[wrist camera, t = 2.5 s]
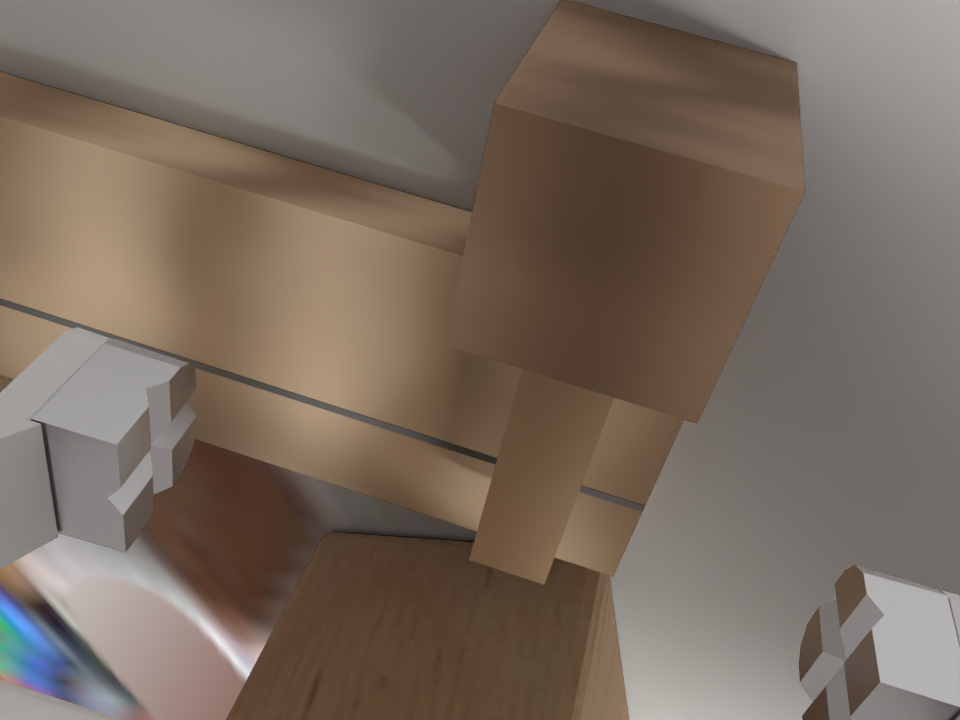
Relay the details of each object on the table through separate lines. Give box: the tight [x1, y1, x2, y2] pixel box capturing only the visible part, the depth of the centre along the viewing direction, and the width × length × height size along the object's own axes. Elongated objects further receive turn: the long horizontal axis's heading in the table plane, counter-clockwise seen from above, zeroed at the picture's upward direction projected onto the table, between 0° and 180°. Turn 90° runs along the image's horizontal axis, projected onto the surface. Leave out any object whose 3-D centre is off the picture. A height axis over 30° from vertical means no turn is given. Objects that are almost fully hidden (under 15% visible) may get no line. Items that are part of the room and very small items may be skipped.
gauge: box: [445, 0, 805, 585], centre depth 20 cm, size 5×12×6 cm, turn 170°
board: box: [0, 72, 684, 576], centre depth 25 cm, size 24×9×2 cm, turn 80°
